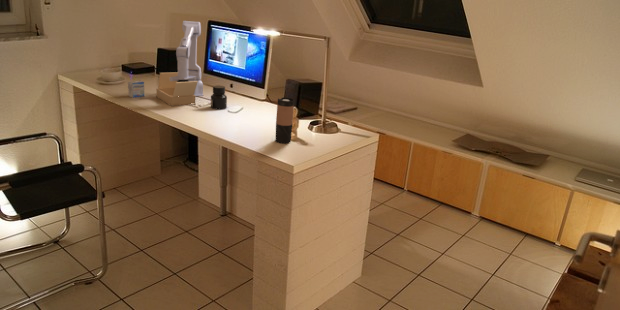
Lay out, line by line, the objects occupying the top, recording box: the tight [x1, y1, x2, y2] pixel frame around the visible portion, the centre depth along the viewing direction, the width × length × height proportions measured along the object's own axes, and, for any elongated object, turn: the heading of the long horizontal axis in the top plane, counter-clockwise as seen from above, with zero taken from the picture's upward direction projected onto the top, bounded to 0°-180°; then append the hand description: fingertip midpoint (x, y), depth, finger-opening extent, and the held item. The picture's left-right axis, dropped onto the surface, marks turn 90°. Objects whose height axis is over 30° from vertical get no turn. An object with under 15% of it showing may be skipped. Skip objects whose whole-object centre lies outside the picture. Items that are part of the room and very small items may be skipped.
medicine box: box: [127, 80, 145, 99], centre depth 278 cm, size 8×4×9 cm, turn 143°
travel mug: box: [275, 97, 295, 144], centre depth 222 cm, size 8×8×20 cm
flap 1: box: [157, 71, 178, 89], centre depth 281 cm, size 10×12×1 cm
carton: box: [156, 88, 196, 107], centre depth 278 cm, size 14×22×5 cm, turn 38°
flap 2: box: [173, 81, 198, 97], centre depth 266 cm, size 10×12×1 cm
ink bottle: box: [210, 84, 228, 110], centre depth 270 cm, size 10×9×12 cm
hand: (183, 93), depth 269 cm, fingers closed, pressing on flap 2
